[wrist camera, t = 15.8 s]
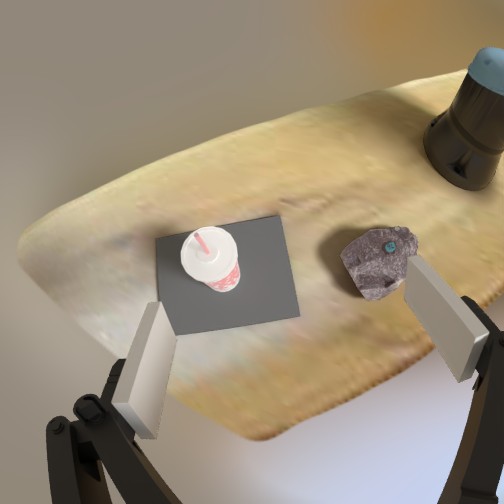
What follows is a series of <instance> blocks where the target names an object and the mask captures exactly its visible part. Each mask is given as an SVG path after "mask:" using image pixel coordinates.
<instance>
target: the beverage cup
mask: <svg viewBox="0 0 504 504" xmlns="http://www.w3.org/2000/svg"><path fill="white" fill-rule="evenodd" d="M237 258H238V253H237V246H236V243H235V241H234V239H233V238H232V236H231V234H229V233H228V232H226V231H225V230H224V229H222V228H218V227H213V226H209V227H203V228H200V229H198V230H196V231H194V232H193V233H191V234H190V235H189V237H188V238H187V239H186V240H185V241H184V244H183V247H182V250H181V263H182V265H183V267H184V269H185V271H186V272H187V273H188V274H189V275H190V276H192V277H193V278H194V279H196V280H197V281H201V282H204V283H205V284H206V285H208V286H209V287H211V288H212V289H214V290H215V291H219V292H226V291H230V290H231V289H233V288H234V287H235V286H236V285H237V284H238V282H239V279H240V269H239V265H238V260H237Z"/></svg>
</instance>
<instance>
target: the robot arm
mask: <svg viewBox="0 0 504 504" xmlns="http://www.w3.org/2000/svg"><path fill="white" fill-rule="evenodd" d="M424 147H425V151H426V153H427V156H428V158H429V160H430V161H431V163H432V164H433V166H434V167H435V168H436V169H437V171H438V172H439V173H440V174H441V175H442V176H443V177H444V178H446V179H447V180H448V181H450V182H451V183H452V184H454V185H456V186H458V187H460V188H463V189H466V190H471V191H476V190H480V189H483V188H484V187H485V186H486V185H487V184H488V183H489V182H490V181H491V180H492V179H493V177H494V175H495V172H496V169H497V166H498V163H499V160H500V157H501V154H502V152H503V151H504V50H502V49H499V48H495V47H485V48H482V49H481V50H479V51H478V53H477V54H476V56H475V58H474V60H473V62H472V63H471V64H470V65H469V66H468V73H467V75H466V77H465V79H464V81H463V83H462V85H461V86H460V88H459V90H458V92H457V94H456V96H455V98H454V100H453V102H452V104H451V106H450V107H449V108H448V109H447V110H445V111H444V112H443V113H441V114H440V115H439V116H437V117H436V118H435V119H434V120H432V122H431V123H430V124H429V126H428V128H427V130H426V132H425V134H424ZM404 300H405V301H406V303H407V304H408V306H409V307H410V309H411V310H412V311H413V313H414V314H415V316H416V317H417V319H418V320H419V322H420V323H421V325H422V326H423V328H424V329H425V331H426V332H427V334H428V335H429V337H430V338H431V340H432V341H433V343H434V345H435V346H436V348H437V349H438V351H439V352H440V354H441V356H442V357H443V359H444V360H445V362H446V364H447V365H448V367H449V369H450V370H451V372H452V373H453V375H454V377H455V378H456V380H457V382H458V383H460V382H462V381H464V380H467V379H469V378H471V377H472V375H473V373H474V370H475V369H476V370H477V372H478V373H479V375H478V377H477V380H476V382H475V384H474V386H473V388H472V390H474V389H475V390H474V395H473V399H472V404H471V408H470V411H469V416H468V420H467V423H466V426H465V430H464V433H463V437H462V440H461V443H460V446H459V449H458V452H457V455H456V458H455V461H454V463H453V466H452V469H451V472H450V474H449V477H448V479H447V482H446V484H445V487H444V489H443V491H442V494H441V496H440V498H439V500H438V503H437V504H498V497H497V496H496V490H497V486H498V483H499V480H500V476H501V472H502V469H503V464H504V331H500V330H499V329H498V327H497V326H496V325H495V324H494V323H493V322H492V321H491V319H490V318H489V317H488V316H487V315H486V314H485V313H484V311H483V310H482V309H481V308H480V307H479V306H478V305H477V303H476V302H475V301H474V300H472V299H470V298H469V297H467V296H462V297H459V296H458V295H457V294H456V293H455V291H454V290H453V289H452V288H451V287H450V286H449V285H448V284H447V283H446V282H445V281H444V279H443V278H442V277H441V276H440V275H439V274H438V273H437V272H436V271H435V270H434V269H433V268H432V267H431V266H430V265H429V264H428V263H427V262H426V261H425V260H424V259H423V258H422V257H421V256H420V255H415V256H411V257H408V259H407V273H406V284H405V294H404ZM176 343H177V338H176V336H175V334H174V331H173V329H172V326H171V324H170V322H169V319H168V317H167V314H166V312H165V310H164V307H163V305H162V302H161V301H159V302H152V303H148V304H147V307H146V309H145V312H144V314H143V317H142V319H141V322H140V324H139V327H138V329H137V332H136V335H135V337H134V340H133V342H132V345H131V348H130V350H129V353H128V356H127V359H118V361H117V362H116V363H115V364H114V365H113V366H112V369H111V371H110V374H109V377H108V379H107V383H106V384H105V387H104V390H103V392H102V395H101V398H100V399H99V398H98V396H97V395H94V394H86V395H84V396H82V397H80V398H79V399H78V400H77V401H76V403H75V404H74V408H73V412H74V414H75V415H76V417H77V418H78V419H79V420H77V421H73V422H70V421H69V420H68V419H67V418H66V417H64V416H57V417H55V418H53V419H52V420H51V421H50V422H49V423H48V425H47V428H46V443H47V460H48V472H49V481H50V490H51V497H52V504H112V501H111V498H110V494H109V491H108V487H107V483H106V479H105V475H104V471H103V467H102V463H103V464H104V466H105V468H106V470H107V472H108V474H109V475H110V477H111V479H112V481H113V482H114V484H115V486H116V488H117V489H118V491H119V493H120V494H121V496H122V498H123V499H124V501H125V502H126V504H182V502H181V501H180V500H179V499H178V498H177V497H176V495H175V494H174V493H173V492H172V491H171V489H170V488H169V487H168V485H167V484H166V483H165V482H164V480H163V479H162V478H161V476H160V475H159V474H158V472H157V471H156V470H155V468H154V467H153V466H152V464H151V463H150V461H149V460H148V459H147V457H146V456H145V455H144V453H143V452H142V450H141V449H140V447H139V446H138V444H137V443H136V442H135V440H134V436H135V433H136V434H137V435H138V436H139V437H140V438H141V439H157V435H158V430H159V424H160V419H161V414H162V409H163V404H164V398H165V394H166V389H167V384H168V380H169V375H170V370H171V366H172V361H173V357H174V352H175V348H176ZM101 461H102V462H101Z"/></svg>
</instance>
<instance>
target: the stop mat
mask: <svg viewBox="0 0 504 504" xmlns="http://www.w3.org/2000/svg"><path fill="white" fill-rule="evenodd" d="M218 228H222V229H224V230H225V231H226V232H228V233H229V234H231V236H232V238H233V239H234V241H235V243H236V246H237V253H238V258H237V260H238V265H239V269H240V279H239V282H238V284H237V285H236V286H235V287H234V288H233V289H231V290H230V291H226V292H219V291H215V290H214V289H212V288H211V287H209V286H208V285H206V284H205V283H204V282H201V281H197V280H196V279H194V278H193V277H192V276H190V275H189V274H188V273H187V272H186V271H185V269H184V267H183V265H182V263H181V250H182V247H183V244H184V241H185V240H186V239H187V238H188V237H189V235H190V234H191V233H193V232H194V231H192V232H187V233H182V234H177V235H172V236H167V237H162V238H157V239H156V254H157V272H158V286H159V299H160V301H161V302H162V305H163V307H164V310H165V312H166V314H167V317H168V319H169V322H170V324H171V326H172V329H173V331H174V334H175V336H177V335H185V334H192V333H200V332H207V331H214V330H221V329H228V328H235V327H241V326H247V325H253V324H259V323H265V322H271V321H277V320H282V319H288V318H293V317H298V316H300V311H299V306H298V301H297V296H296V291H295V285H294V280H293V275H292V270H291V265H290V260H289V256H288V251H287V246H286V241H285V236H284V232H283V227H282V222H281V218H280V216H274V217H268V218H262V219H257V220H251V221H246V222H240V223H235V224H229V225H224V226H219V227H218Z"/></svg>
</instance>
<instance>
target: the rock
mask: <svg viewBox="0 0 504 504" xmlns="http://www.w3.org/2000/svg"><path fill="white" fill-rule="evenodd" d="M417 249H418V239H417V237H416V236H415V235H414V234H412V233H411V232H410V230H409V229H408V228H407V227H399V226H397V227H389V228H387V229H373V230H369V231H368V232H366V233H365V234H363V235H362V236H360V237H358V238H357V239H355V240H354V241H352V242H351V243H349V244H348V245H347V246H346V247H345V249H344V250H343V251H342V252H341V253H340V254H339V255H340V258H341V260H342V261H343V263H344V265H345V267H346V269H347V270H348V272H349V273H350V275H351V277H352V279H353V281H354V283H355V285H356V287H357V288H358V289H359V291H360V292H361V293H362V295H363V296H364V297H365V299H366V301H370V300H380V299H381V298H383V297H385V296H387V295H389V294H390V293H391V292H393V291H394V290H395V289H397V288H398V286H399V284H400V283H401V282H403V281H405V280H406V273H407V259H408V257H411V256H415V255H417Z"/></svg>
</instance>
